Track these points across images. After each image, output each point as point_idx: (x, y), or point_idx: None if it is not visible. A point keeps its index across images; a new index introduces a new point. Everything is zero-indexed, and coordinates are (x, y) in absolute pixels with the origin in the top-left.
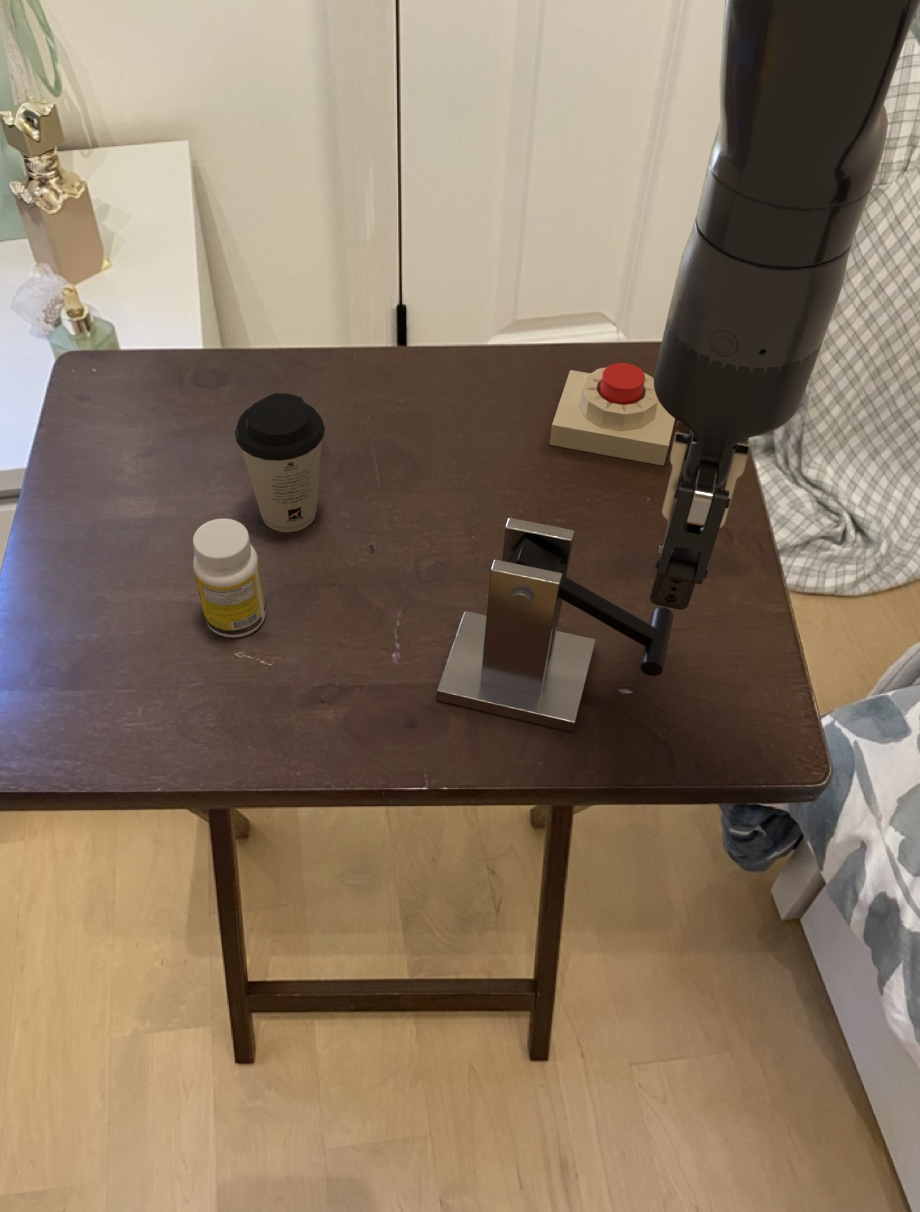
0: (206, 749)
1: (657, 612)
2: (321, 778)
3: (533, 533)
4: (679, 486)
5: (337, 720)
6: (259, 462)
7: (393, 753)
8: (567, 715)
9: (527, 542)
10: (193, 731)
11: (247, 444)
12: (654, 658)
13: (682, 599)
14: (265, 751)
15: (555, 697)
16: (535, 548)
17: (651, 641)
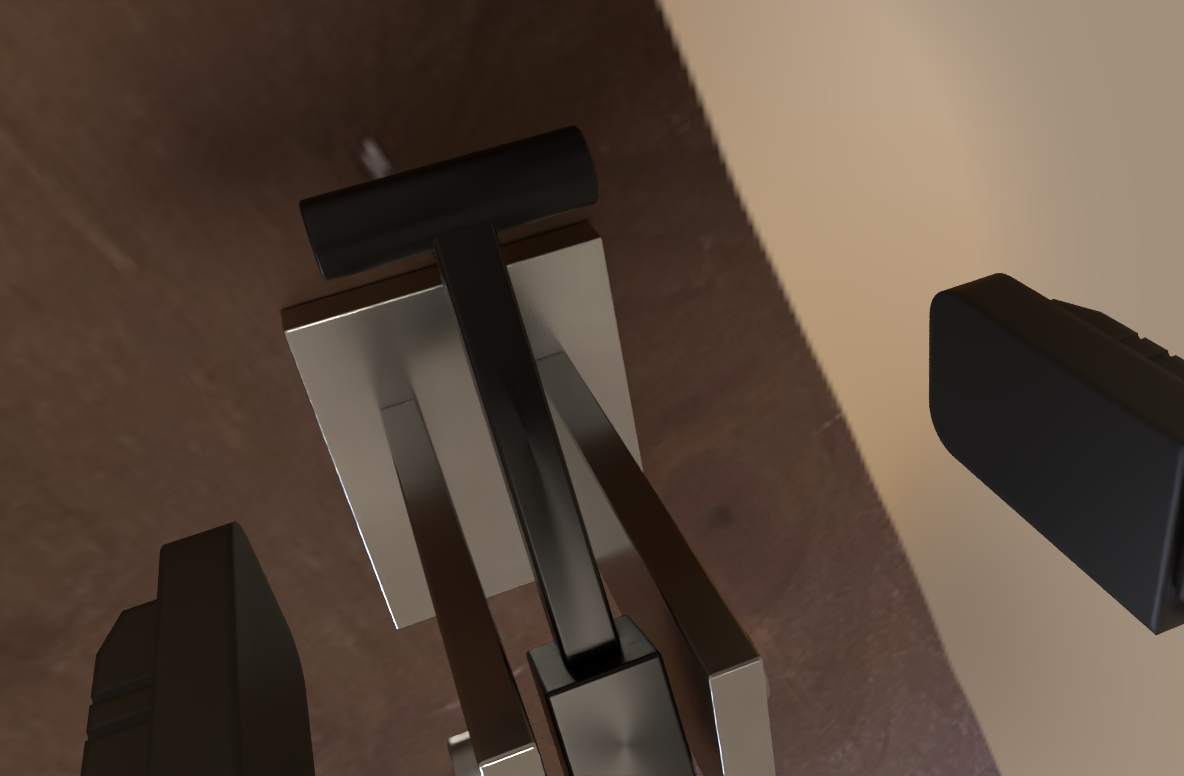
0: (896, 718)
1: (348, 267)
2: (893, 560)
3: None
4: (309, 765)
5: (765, 619)
6: None
7: (799, 501)
8: (589, 264)
9: None
10: (870, 753)
11: None
12: (581, 181)
13: (1134, 337)
14: (870, 657)
15: (546, 318)
16: None
17: (502, 224)
